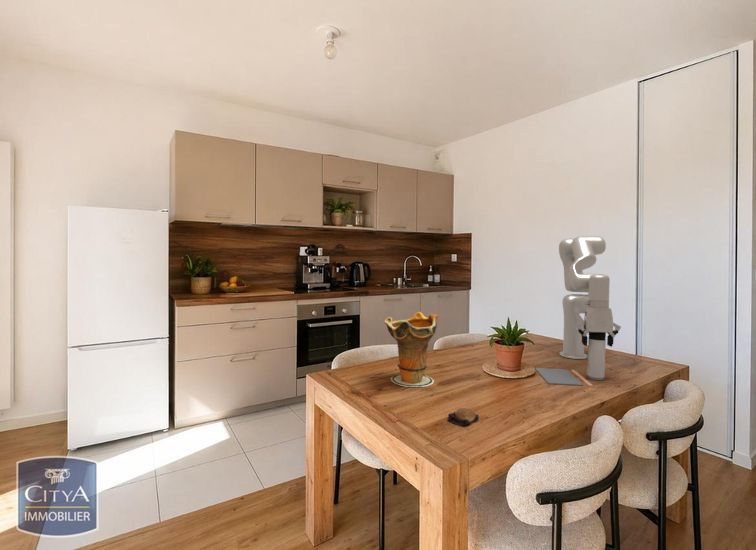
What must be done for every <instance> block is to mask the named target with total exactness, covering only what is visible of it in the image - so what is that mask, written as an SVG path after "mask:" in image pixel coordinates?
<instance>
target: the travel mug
mask: <svg viewBox="0 0 756 550" xmlns="http://www.w3.org/2000/svg"><path fill="white" fill-rule="evenodd" d="M606 334H607V333H598V332H589V333H588V339H587V346H588V347H587V372H586V373H587V375H586V377H587V378H588V379H589V380H593V381H604V380H605V374H606V373H605V372H606V370H605V369H606V367H605V366H606V346H607V344H606V343H607V342H606V341H607V339H606V338H607V336H606Z"/></svg>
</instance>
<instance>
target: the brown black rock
mask: <svg viewBox="0 0 756 550" xmlns="http://www.w3.org/2000/svg"><path fill="white" fill-rule="evenodd" d="M480 418H481V415H479V414H476V413H475V412H474V411H473V410H472V409H470V408H467V407H462V408H461V407H460V408H458V409H457V410H456V411H453V412H452V413H451V412H450V413H448V418H447V419H446V422H447V423H450V424H453V425H456V426H457V427H463V428H468V427H471V426H472V425H473V424H474V423H476V422H478V421H479V419H480Z"/></svg>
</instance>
